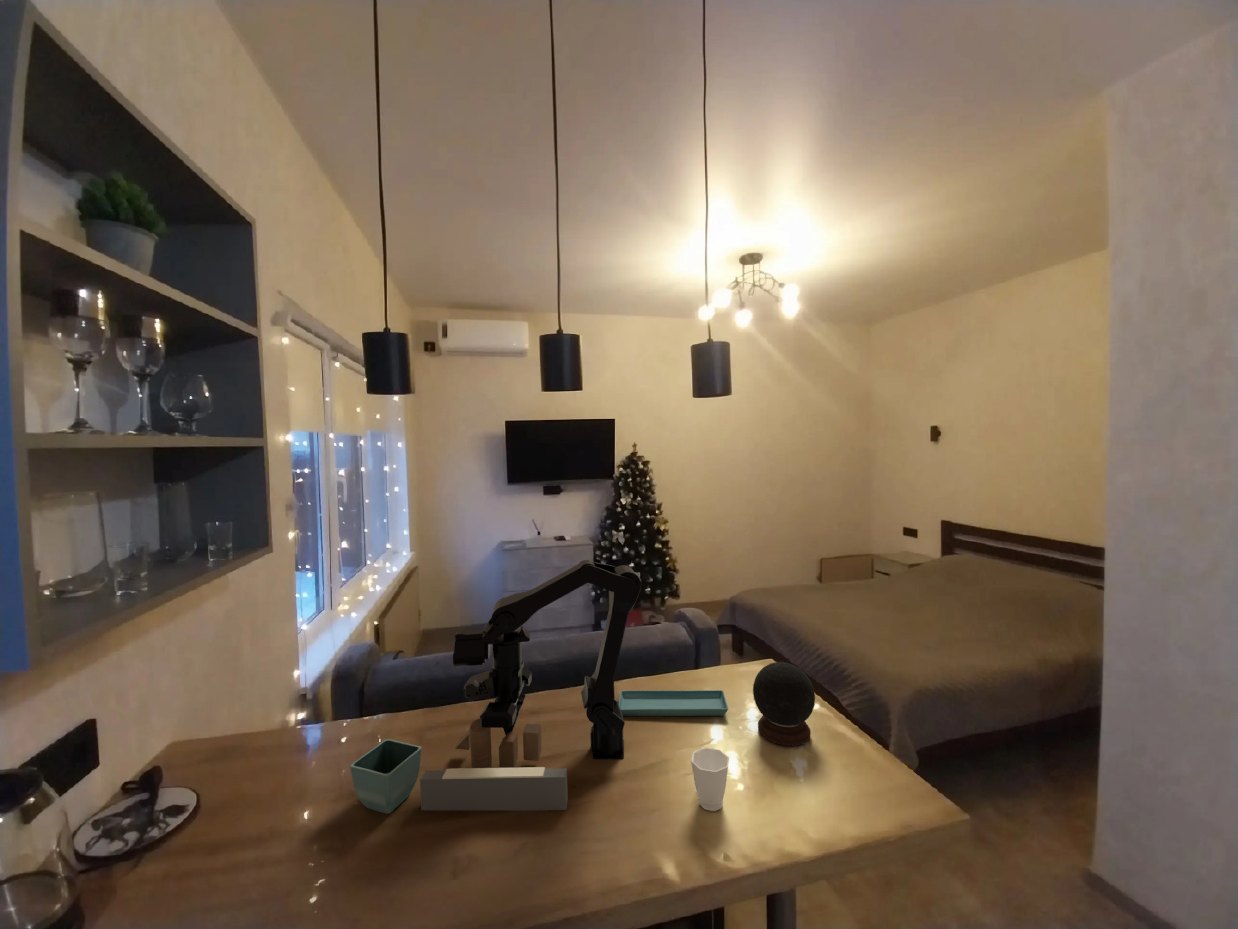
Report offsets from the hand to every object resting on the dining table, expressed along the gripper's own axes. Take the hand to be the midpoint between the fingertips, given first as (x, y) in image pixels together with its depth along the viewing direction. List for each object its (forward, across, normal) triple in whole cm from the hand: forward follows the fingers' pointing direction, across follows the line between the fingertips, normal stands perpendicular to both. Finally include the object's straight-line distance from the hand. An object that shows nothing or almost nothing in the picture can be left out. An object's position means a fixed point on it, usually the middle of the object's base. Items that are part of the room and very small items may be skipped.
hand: (508, 735), depth 103 cm
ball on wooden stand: (+5, -10, +59) cm, 60 cm away
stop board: (+5, +13, +1) cm, 14 cm away
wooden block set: (+5, +2, -2) cm, 6 cm away
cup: (+5, +11, +40) cm, 41 cm away
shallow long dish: (+6, -21, +35) cm, 41 cm away
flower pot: (+6, +12, -19) cm, 23 cm away
